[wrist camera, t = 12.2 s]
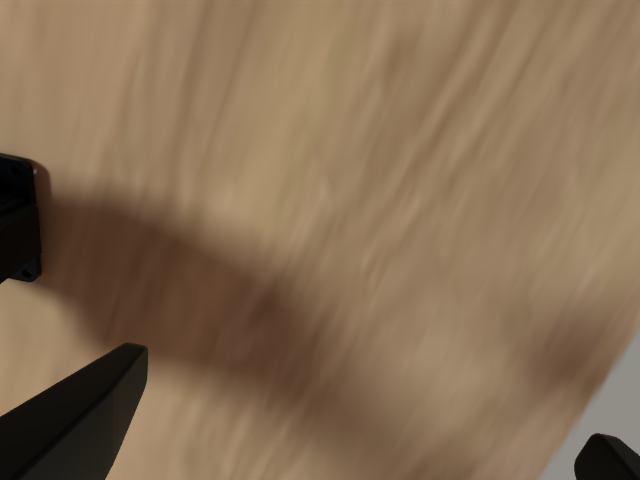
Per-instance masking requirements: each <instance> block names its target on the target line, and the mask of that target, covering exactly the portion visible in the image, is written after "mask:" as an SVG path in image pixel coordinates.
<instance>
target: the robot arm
mask: <svg viewBox="0 0 640 480" xmlns="http://www.w3.org/2000/svg"><path fill="white" fill-rule="evenodd" d="M16 166H19V167H20V168H21V170H22V173H21V172H19V171H18V170H17V167H16ZM40 253H41V240H40V228H39V216H38V208H37V206H36V200H35V188H34V176H33V168H32V166H31V164H30V163H29V162H28V161H27V160H26V159H24V158H21V157H16V156H11V155H6V154H1V153H0V284H1V283H2V282H4V281H5V280H6V279H8V278H10V279H15V280H20V281H25V282H33V281H35V280H36V279H37V278H39V277H40V275H41V272H42V271H41V259H40ZM27 270H29V271H30V272H31V273H32V274H31V273H29V272H28V271H27ZM147 372H148V349H147V347H146V346H144V345H139V344H134V343H124V344H122V345H121V346H119V347H117V348H115V349H114V350H112V351H110V352H109V353H107V354H105V355H104V356H102V357H100V358H99V359H97V360H95V361H94V362H92V363H90V364H88V365H87V366H85V367H83V368H82V369H80V370H78V371H77V372H75V373H73V374H72V375H70V376H68V377H67V378H65V379H63V380H62V381H60V382H58V383H56V384H55V385H53V386H51V387H50V388H48V389H46V390H45V391H43V392H41V393H40V394H38V395H36V396H35V397H33V398H31V399H29V400H28V401H26V402H24V403H23V404H21V405H19V406H18V407H16V408H14V409H13V410H11V411H9V412H8V413H6V414H4V415H2V416H1V417H0V480H105V479H106V477H107V475H108V473H109V471H110V469H111V467H112V465H113V463H114V461H115V459H116V456H117V454H118V452H119V449H120V447H121V445H122V442H123V440H124V437H125V435H126V433H127V430H128V428H129V425H130V423H131V421H132V418H133V416H134V413H135V411H136V409H137V406H138V404H139V401H140V399H141V397H142V394H143V392H144V389H145V386H146V382H147ZM574 471H575V476H576V480H640V456H639V455H638V454H637V453H635V452H634V451H633V450H632V449H631V448H629V447H628V446H627V445H626V444H625V443H623V442H622V441H621V440H620V439H618V438H617V437H614V436H610V435H605V434H600V433H596V434H593V435H592V436H591V437H590V438H589V439H588V441H587V442H586V444H585V446H584V447H583V449H582V450H581V452H580V453H579V455H578V456H577V458H576V460H575V464H574Z"/></svg>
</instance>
